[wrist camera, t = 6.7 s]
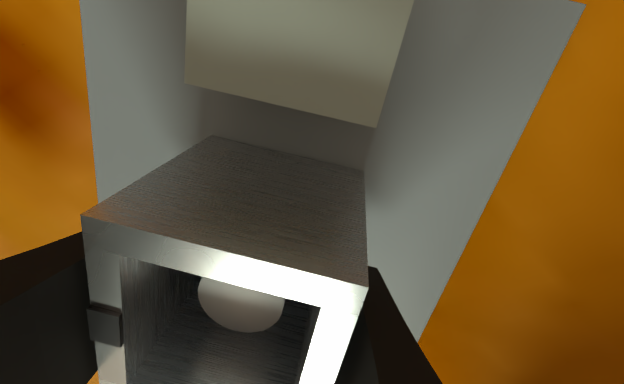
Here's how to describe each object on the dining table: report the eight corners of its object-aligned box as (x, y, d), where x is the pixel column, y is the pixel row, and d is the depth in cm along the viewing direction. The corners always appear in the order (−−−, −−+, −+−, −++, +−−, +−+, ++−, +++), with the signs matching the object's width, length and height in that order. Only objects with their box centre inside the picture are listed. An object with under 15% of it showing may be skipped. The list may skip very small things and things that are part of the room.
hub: (328, 292, 11) (307, 459, 7) (201, 259, 12) (97, 401, 7) (364, 171, 10) (368, 292, 5) (210, 134, 10) (75, 217, 5)
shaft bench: (383, 383, 15) (394, 514, 11) (125, 319, 15) (40, 423, 11) (561, 8, 8) (761, -22, 4) (99, -96, 8) (-136, -220, 4)
